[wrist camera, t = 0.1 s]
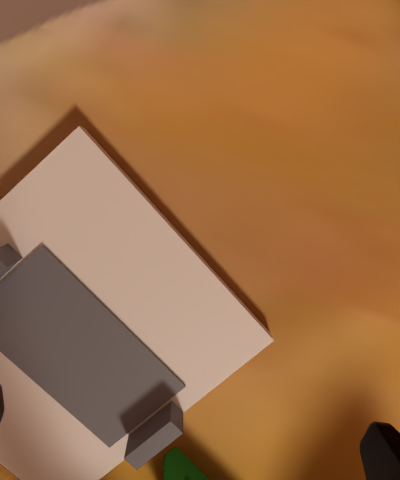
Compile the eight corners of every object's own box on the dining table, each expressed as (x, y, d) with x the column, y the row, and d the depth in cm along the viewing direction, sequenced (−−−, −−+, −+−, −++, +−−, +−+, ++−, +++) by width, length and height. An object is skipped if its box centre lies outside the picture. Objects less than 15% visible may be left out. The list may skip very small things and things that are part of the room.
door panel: (64, 496, 28) (49, 539, 24) (-135, 334, 24) (-182, 360, 21) (269, 332, 25) (281, 356, 22) (84, 127, 22) (68, 122, 19)
